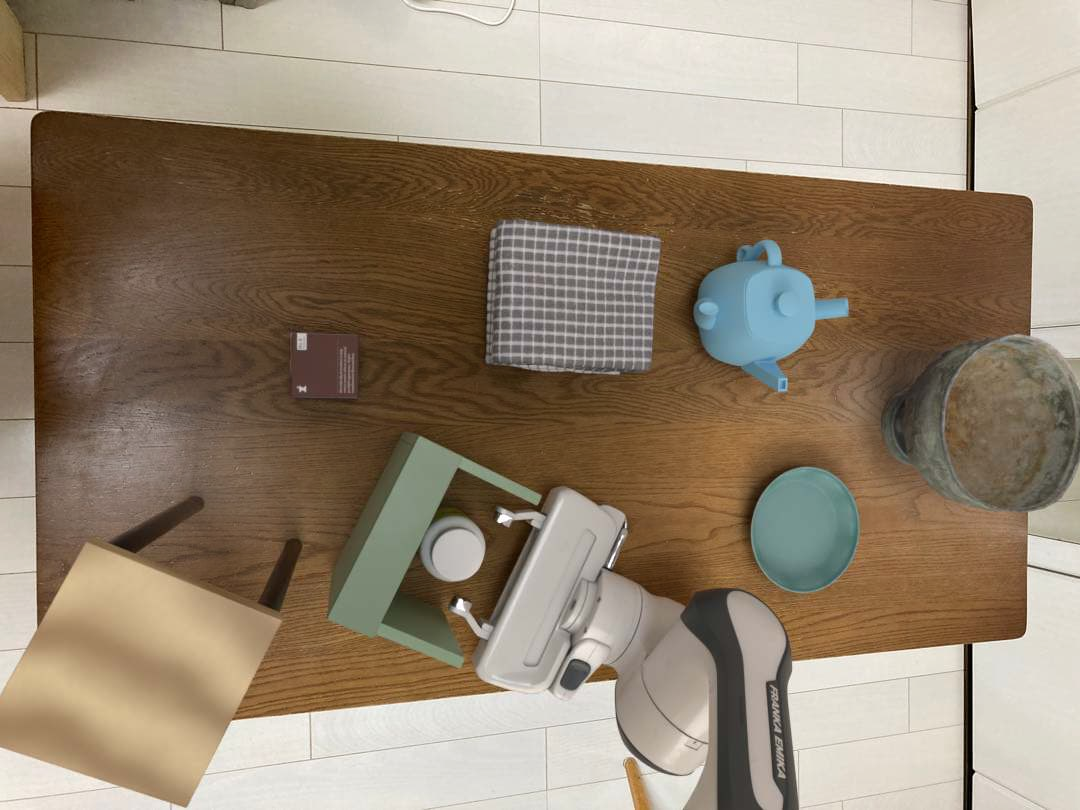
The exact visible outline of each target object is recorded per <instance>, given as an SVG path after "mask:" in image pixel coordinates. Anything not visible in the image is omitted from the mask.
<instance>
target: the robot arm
mask: <svg viewBox="0 0 1080 810" xmlns="http://www.w3.org/2000/svg"><path fill="white" fill-rule="evenodd" d="M490 519H491V520H492V521H494V522H496V523H498V524H501V525H503V526H504V527H507V528H510V527H511V525H512V523H513V521H523V520H525V522H526V523H527V524H529V525H531V526H532V529H531V530H530V533H529V535H528V537H527V539H526V541H525V543H524V545H523V547H522V550H521V552H520V554H519V556H518V558H517V560H516V562H515V564H514V566H513V569H512V570H511V573H510V575H509V577H508V578H507V581H506V583H505V585H504V587H503V590H502V592H501V594H500V595H499V598H498V600H497V602H496V604H495V607H494V609H493V611H492V613H491V615H490V617H489V619H487V618H485V617H482V616H479V617H478V619H477V620H476V619H475V617H474V616H473V614H472V613H471V609H472V606H473V602H472V601H471V599H470V598H467V597H465V596H461V594H459V593H456V592H454V593H453V595H452V597H451V599H450V601H449V603H448V605H447V609H448V610H449V611H450V612H452V613H454V614H456V615H459V616H461V617H462V618H464V619H465V620H466V622H467V623H468V625H469V627H471V629H472V631H473V632H474V633H475V635H476V636H477V637H479V641H478V642H477V645H476V646H475V649H474V651H473V653H472V655H471V658H470V659H471V664H472V667H473V670H474V672H475V674H476V675H477V676H478V678H479V679H480V680H481V681H483V682H485V683H488V684H490V685H492V686H496V687H499V688H501V689H505V690H508V691H511V692H515V693H521V694H525V695H538V694H541V693H544V692H545V691H546V690H547V691H548V692H549V693H550V694H551V695H553V696H554V697H555V698H557V699H558V700H560V701H565V702H567V701H569V700H571V699H572V698H573V697H574V696H575V695H576V694H577V693H578V691H579V690H580V689H581V687H583V685H584V684H585V683H586V682H587V681H588V679H590V677H591V676H592V675H593V674H594V673H595V671H597V670H598V669H599V667H600V666H601V665H604V666H608V667H611V668H613V669H614V670H615V672H616V674H617V678H616V680H615V684H614V712H615V720H616V721H615V722H616V727H617V730H618V733H619V736H620V739H621V741H622V743H623V745H624V746H625V748H626V749H627V750H628V752H629V753H630V754H631V755H632V756H634V758H636V759H637V760H638V761H640V762H641V763H643V765H645V766H647V767H649V768H650V769H653V770H655V771H656V772H658V773H661V774H664V775H668V776H672V777H673V776H674V777H686V776H690V775H692V774H693V773H694V772H695V771H696V770H697V769H698V768H699V767H702V765H703V764H704V765H703V767H702V768H703V769H702V771H701V773H700V776H699V778H698V781H697V783H696V785H695V787H694V789H693V791H692V793H691V795H690V796H689V798H688V799H687V801H686V804H685V805H684V806H683V808H682V810H800V803H799V794H798V793H799V792H798V781H797V773H796V772H797V771H796V763H795V754H794V745H793V743H794V742H793V733H792V724H791V717H790V708H789V697H788V696H789V695H788V693H789V692H788V689H789V687H788V686H789V681H790V678H791V676H792V673H793V654H792V648H791V643H790V639H789V636H788V632H787V630H786V628H785V626H784V624H783V622H782V621H781V619H780V618H779V616H778V615H777V614H776V613H775V612H774V611H773V609H772V608H771V607H770V606H769V605H767V603H765V602H764V601H763V600H762V599H760V597H758V596H757V595H755V594H753V593H751V592H749V591H747V590H744V589H742V588H736V587H715V588H706V589H701V590H697V591H695V593H694V594H693V596H692V597H691V598H690V600H689V602H688V603H687V605H684V604H682V603H680V602H678V601H676V600H674V599H671V598H669V597H665V596H660V595H659V596H658V595H655V594H652V593H651V592H649V591H648V590H646V589H645V588H644V587H643V586H642V585H641V584H639V583H638V582H635V581H633V580H631V579H630V578H628V577H625V576H623V575H621V574H619V573H617V572H615V571H613V570H614V568H615V565H616V564H617V561H618V558H619V557H620V553H621V550H622V548H623V545H624V543H626V541H627V539H628V537H629V532H630V530H629V529H628V525H629V524H628V523H629V522H628V518H627V516H626V514H625V513H624V511H622V510H621V509H619V508H617V507H615V506H613V505H611V504H608V503H600V504H597V503H595V502H594V501H593V500H591V499H589V497H586V496H584V495H583V494H581V493H580V492H578V491H576V490H574V489H572V488H570V487H568V486H564V485H559V486H556V487H553V488H550V491H549V492H548V495H547V496H546V499H545V501H544V503H543V505H542V508H541V509H540V512H538V511H536V510H534V509H532V508H525V509H516V510H509V509H507V508H505V507H502V506H500V505H498V504H496V506H495V507H494V510H493V512H492V514H491V516H490Z"/></svg>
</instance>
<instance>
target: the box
mask: <svg viewBox="0 0 1080 810" xmlns="http://www.w3.org/2000/svg"><path fill="white" fill-rule="evenodd" d="M359 341H360V339H359V335H358V334H352V333H351V334H350V333H326V332H325V333H320V332H303V331H302V332H299V331H291V332H290V351H289V352H290V354H289V355H290V360H289V371H290V373H289V397H290V399H294V400H296V401H323V402H324V401H327V402H328V401H329V402H330V401H332V402H334V401H335V402H336V401H337V402H338V401H339V402H340V401H341V402H342V401H344V402H347V401H357V400H358V398H359V385H360V384H359V383H360V378H359V377H360V376H359V374H360V372H359V371H360V344H359Z"/></svg>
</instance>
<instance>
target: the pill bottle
mask: <svg viewBox="0 0 1080 810" xmlns="http://www.w3.org/2000/svg"><path fill="white" fill-rule="evenodd" d="M416 553H417V555H418V557H419V559H420V561H421V563H422V565H423V567H424V569H425V570H426V571H427V572H428V573H429V574H430V575H431V576H433V578H436V579H437V580H440V581H444V582H449V583H450V582H451V583H452V582H453V583H454V582H461V581H465V580H467V579H469V578H471V577H472V576H473V575H475V574H476V573H477V572H478V571H479V569H480V567H481V566H482V563H483V561H484V558H485V555H486V540H485V537H484V534H483V532H482V531H481V529H480V527H479V526H478V524H476V523H475V521H473V520H472V519H471V518H469V517H468V516H467V515H466V514H465V513H464V512H463V511H461V510H459V509H457V508H456V507H455V508H454V507H451V506H439V507H438V509H437V511H436V513H435V515H434V517H433V519H432V521H431V523H430V525H429V527H428V529H427V531H426V533H425V535H424V537H423V539H422V541H421V543H420V545H419V547H418V549H417V551H416Z"/></svg>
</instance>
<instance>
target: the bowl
mask: <svg viewBox="0 0 1080 810" xmlns="http://www.w3.org/2000/svg"><path fill="white" fill-rule="evenodd" d="M881 433H882V438H883V442H884V444H885V447H886V449H887V450H888V452H889V453H890V454H891V456H892V457H894V458H895V459H896V460H897V461H898V462H900V463H901V464H903V465H906V466H909V467H914V468H915V469H916V471H917V472H918V474H919V476H920V477H921V478H922V480H923V481H924V482H925V484H926V485H927V486H928V487H929V488H930V489H932V490H933V491H934V492H936V493H937V494H938V495H940V496H941V497H942V498H944V499H946V500H948V501H952V502H956V503H958V504H960V505H963V506H967V507H969V508H970V507H971V508H973V509H979V510H984V511H990V512H1005V513H1031V512H1035V511H1038V510H1044V509H1046V508H1048V507H1050V506H1052V505H1054V504H1056V503H1057V502H1058V501H1060V499H1062V498H1063V496H1064V495H1065V494H1066V493H1067V491H1068V489H1069V487H1070V486H1071V485H1072V482H1073V480H1074V478H1075V475H1076V473H1077V471H1078V468H1079V465H1080V383H1079V379H1078V377H1077V375H1076V373H1075V371H1074V369H1073V367H1072V366H1071V364H1070V363H1069V362H1068V360H1067V358H1065V357H1064V355H1063V354H1062V353H1061V352H1060V350H1059V349H1057V348H1055V347H1054V346H1053V345H1051V344H1050V343H1048V342H1047V341H1045V340H1043V339H1041V338H1039V337H1034V336H1031V335H1026V334H1021V333H1017V334H1008V335H1004V336H1000V337H994V338H992V337H987V338H985V339H974V338H973V339H970V340H967V341H965V342H962V343H960V344H958V345H956V346H953V347H951V348H948V349H945V350H943V352H941V353H939V354H938V355H937V356H936V357H935V358H934V359H933V360H932V361H931V362H930V363H928V364H927V365H926V366H925V368H924V369H923V370H922V372H921V373H920V374H919V376H918V377H916V380H915V381H914V382H913V384H912V385H911V386H908V387H905V388H903V389H901V390H899V391H898V392H896V393H895V394H894V395H893V396H892V397H891V398H890V400H889V401H888V403H887V405H886V407H885V410H884V411H883V414H882V418H881Z"/></svg>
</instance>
